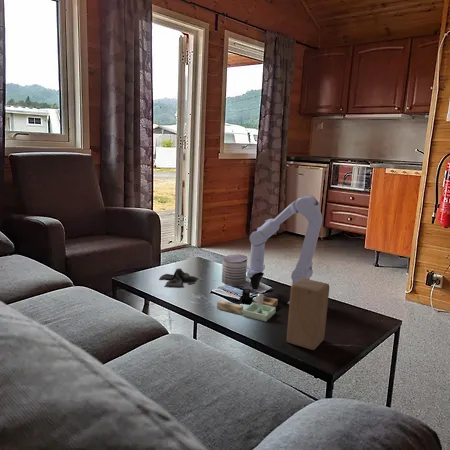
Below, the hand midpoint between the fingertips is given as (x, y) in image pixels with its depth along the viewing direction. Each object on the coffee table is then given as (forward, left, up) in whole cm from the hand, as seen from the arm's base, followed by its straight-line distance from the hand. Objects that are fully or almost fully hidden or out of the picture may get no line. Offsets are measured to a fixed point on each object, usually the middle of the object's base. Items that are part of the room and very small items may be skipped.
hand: (255, 288), depth 180 cm
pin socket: (-9, +11, -2) cm, 14 cm away
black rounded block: (0, +10, -3) cm, 10 cm away
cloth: (+35, +4, -3) cm, 35 cm away
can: (+14, -8, -2) cm, 16 cm away
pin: (-10, +20, -2) cm, 23 cm away
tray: (-10, +20, -2) cm, 23 cm away
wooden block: (-32, +32, -2) cm, 45 cm away
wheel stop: (+1, +23, -2) cm, 23 cm away
